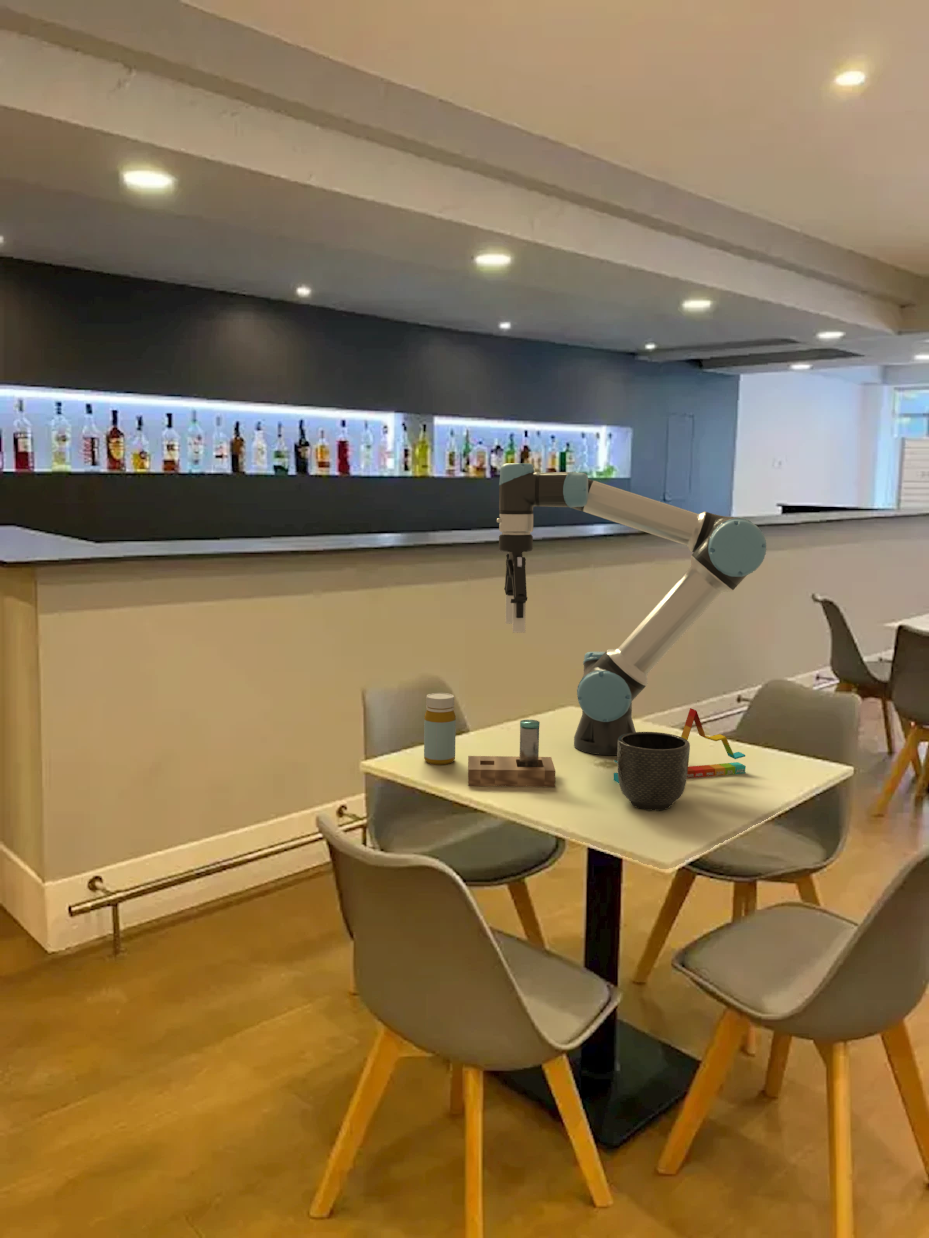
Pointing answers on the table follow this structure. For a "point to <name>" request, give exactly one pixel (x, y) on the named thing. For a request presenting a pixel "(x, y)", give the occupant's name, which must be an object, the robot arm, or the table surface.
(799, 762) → the table surface
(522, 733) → the clear spice jar
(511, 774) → the socket block
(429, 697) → the bottle
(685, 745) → the planter
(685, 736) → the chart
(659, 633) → the robot arm
